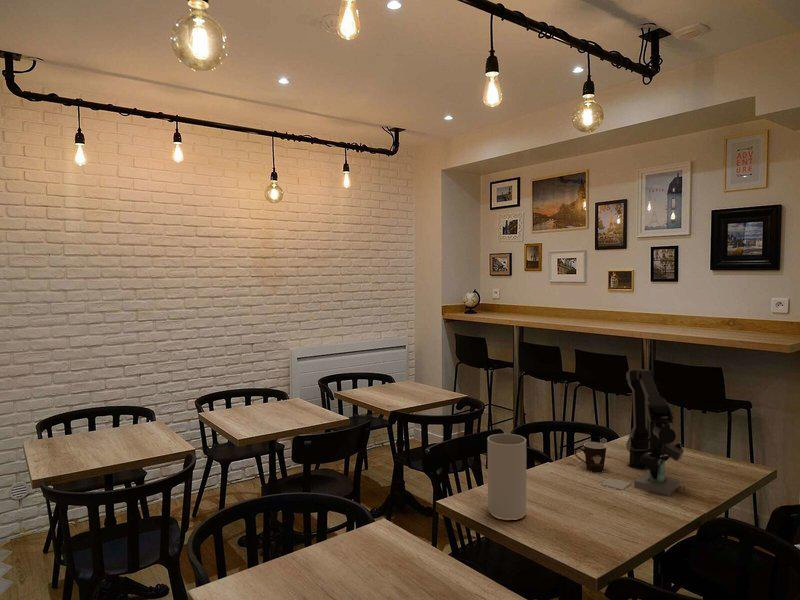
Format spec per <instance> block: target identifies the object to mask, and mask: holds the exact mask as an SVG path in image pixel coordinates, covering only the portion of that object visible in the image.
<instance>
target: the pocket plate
mask: <svg viewBox="0 0 800 600" xmlns="http://www.w3.org/2000/svg"><path fill="white" fill-rule="evenodd" d="M633 482H634V488H635V487H636V488H635V489H639V488H640V489H639V490H643V491H648V492H652V493H655V494H659V495H664V496H668V497H670V496H671V495H672V494H673V493H674V492H676V490H677V489H679V487H680V485H681V479H679V478H675V477H671V476H670V477H669V476H666V475H665V482H664V483H663V484H660V483H656V482H652V481H650V471H649V472H647V471H646V472H644V473H643V474H642V475H640V476H638V477H637V478H636V479H634V481H633Z"/></svg>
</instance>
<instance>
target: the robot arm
mask: <svg viewBox="0 0 800 600" xmlns="http://www.w3.org/2000/svg"><path fill="white" fill-rule="evenodd" d="M625 373H626V374H625V379H626V381H627V385H628V386H629V388H630V389H631V391H632V392H631V393H632V396H631V397H632V415H633V416H632V417H633V418H632V419H633V422H632V423H633V427H632V428H631V429H630V431H629V437H628V438H627V441H626V444H625V445H626V446H625V447H626V450H627V452H628V453H629V463H628V464H627V466H628V467H631V468H635V469H640V470H645V469H647V468H648V471H649V473H651V475H652V477H653V479H657V476H658V470H659V466H660V465H661V464H663V462H661V459H663V460H665V462H666V461H668V460H669V459H672V460H673V461H676V462H678V461H679V460H680V459H681V458H682V456H683V454H684V453H685V451H684V449H683V448H684V447H683V444H682V443H680V442H677V443H675V445H674V443H673V442H674V441H675V440H676V438H677V435H676V432H675V430H673V429H672V427H671V424H674V416H673V412H672V408H671V407H670V405H669V404H668V402H667V401H666V399H665V398H664V397H662V396H660V393H659V391H658V388H657V387H656V384H655V382H654V379H653V373H652V371H651V370H649V369H646V368H642V369H641V368H637V369H636V368H631V369H629V370H628V371H626V372H625ZM646 417H647V420H648V428H647V420H646Z"/></svg>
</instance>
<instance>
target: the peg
mask: <svg viewBox="0 0 800 600" xmlns="http://www.w3.org/2000/svg"><path fill="white" fill-rule="evenodd" d="M661 462H663V464H661V465H660V466H659V470H658V476H657V479H653V477H652V475H651V473H650V472H649V473H650V481H652V482H656V483H660V484H663V483H664V482H665V476H666V474H665V473H666V472H665V470H666V461H665V460H663V459H661Z"/></svg>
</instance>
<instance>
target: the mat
mask: <svg viewBox="0 0 800 600" xmlns="http://www.w3.org/2000/svg"><path fill="white" fill-rule="evenodd" d="M602 485H605V486H604V487H606V486H608V487H607V488H610V487H612V488H611V489H614V488H616V489H615V490H618V489H620V490H619V491H621V490H623V491H624V490H626V489H627V488H628V487H630V486H631V485H632V483H631V482H628V481H624V480H620V479H616V478H615V479H614V478H611V477H609V478H608V479H606V480H605V481H603V482H602V483H600V486H602ZM629 485H630V486H629ZM626 487H627V488H626ZM625 488H626V489H625Z"/></svg>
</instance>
